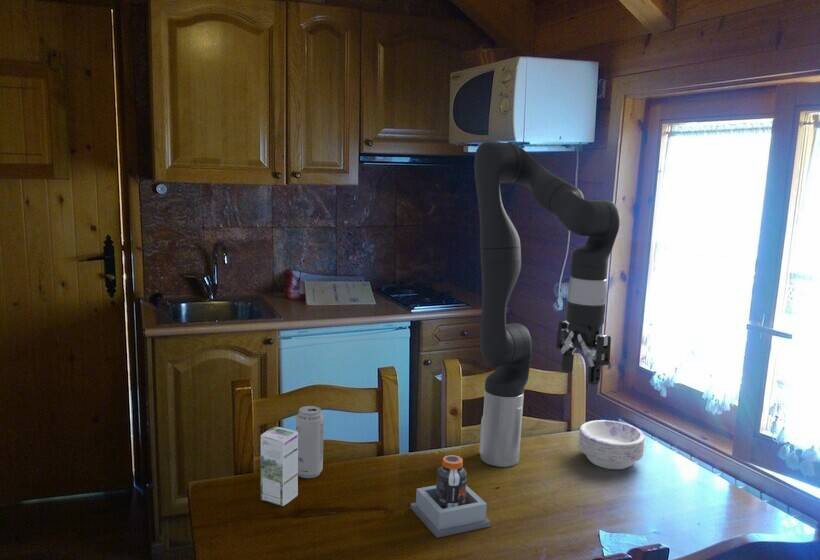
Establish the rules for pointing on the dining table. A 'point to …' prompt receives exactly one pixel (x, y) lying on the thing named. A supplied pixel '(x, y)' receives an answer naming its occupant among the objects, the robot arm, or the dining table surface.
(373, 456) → the dining table surface
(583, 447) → the paper bowls
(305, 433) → the energy drink can
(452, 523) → the holder
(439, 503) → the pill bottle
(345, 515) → the dining table surface
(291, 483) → the syrup box
